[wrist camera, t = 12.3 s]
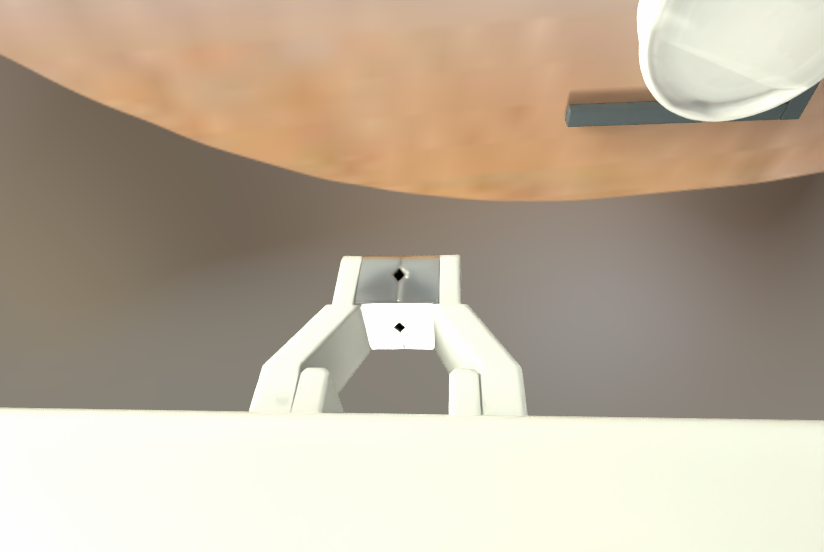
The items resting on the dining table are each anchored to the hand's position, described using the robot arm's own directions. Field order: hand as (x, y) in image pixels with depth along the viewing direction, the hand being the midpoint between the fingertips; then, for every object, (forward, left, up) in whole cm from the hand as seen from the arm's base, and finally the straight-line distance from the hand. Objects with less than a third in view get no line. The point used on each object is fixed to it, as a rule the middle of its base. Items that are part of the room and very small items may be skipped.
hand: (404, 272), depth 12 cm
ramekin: (-8, +15, -23) cm, 29 cm away
